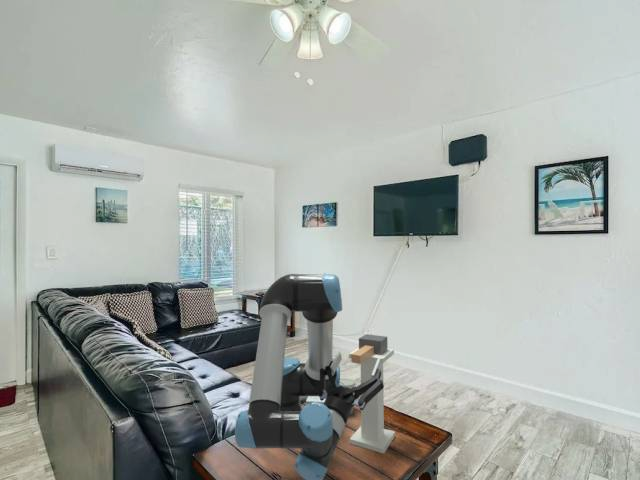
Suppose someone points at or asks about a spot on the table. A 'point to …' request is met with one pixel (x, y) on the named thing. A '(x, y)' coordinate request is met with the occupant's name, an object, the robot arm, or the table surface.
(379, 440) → the tall stand
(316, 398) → the external hard drive
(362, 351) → the hammer
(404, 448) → the table surface
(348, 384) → the coffee cup
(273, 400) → the robot arm
